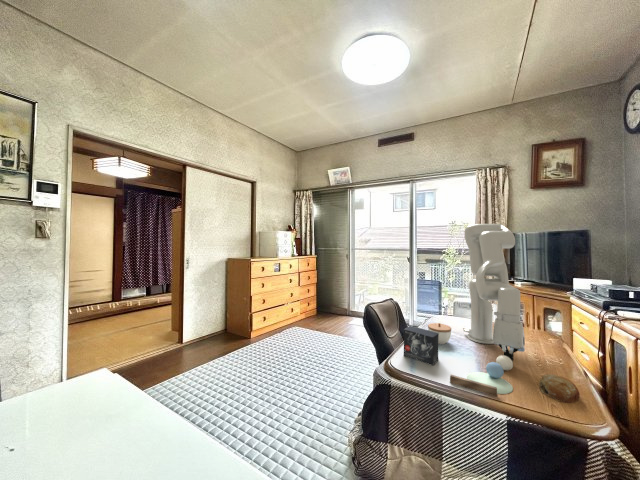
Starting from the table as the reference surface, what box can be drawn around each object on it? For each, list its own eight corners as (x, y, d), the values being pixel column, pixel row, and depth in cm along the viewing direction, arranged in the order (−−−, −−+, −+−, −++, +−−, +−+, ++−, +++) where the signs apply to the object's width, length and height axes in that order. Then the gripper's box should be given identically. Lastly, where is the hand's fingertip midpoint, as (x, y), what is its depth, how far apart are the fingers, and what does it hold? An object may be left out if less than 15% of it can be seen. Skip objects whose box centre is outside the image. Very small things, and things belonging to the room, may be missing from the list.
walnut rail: (450, 382, 94) (450, 375, 94) (450, 381, 95) (450, 374, 95) (496, 396, 86) (496, 389, 86) (496, 394, 87) (496, 387, 87)
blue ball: (489, 372, 102) (483, 376, 98) (489, 358, 102) (483, 361, 98) (505, 378, 97) (500, 382, 94) (506, 363, 98) (500, 367, 94)
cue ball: (499, 352, 108) (497, 366, 107) (495, 353, 105) (493, 367, 104) (515, 357, 104) (514, 372, 103) (511, 358, 100) (510, 373, 100)
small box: (402, 355, 116) (403, 329, 116) (409, 351, 121) (409, 325, 121) (432, 365, 107) (433, 336, 107) (439, 360, 112) (439, 332, 112)
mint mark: (459, 380, 96) (459, 380, 96) (475, 368, 104) (475, 368, 104) (504, 399, 85) (504, 398, 85) (518, 384, 93) (518, 383, 93)
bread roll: (536, 396, 92) (527, 376, 92) (560, 382, 93) (551, 363, 93) (565, 415, 82) (555, 393, 82) (591, 400, 83) (582, 378, 83)
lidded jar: (450, 339, 135) (450, 321, 135) (451, 347, 125) (451, 328, 125) (428, 336, 139) (428, 318, 139) (427, 343, 129) (427, 324, 129)
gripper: (485, 314, 111) (484, 357, 111) (528, 323, 99) (528, 371, 99) (491, 311, 115) (491, 353, 116) (534, 320, 104) (534, 366, 104)
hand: (508, 361), depth 107 cm, fingers closed
